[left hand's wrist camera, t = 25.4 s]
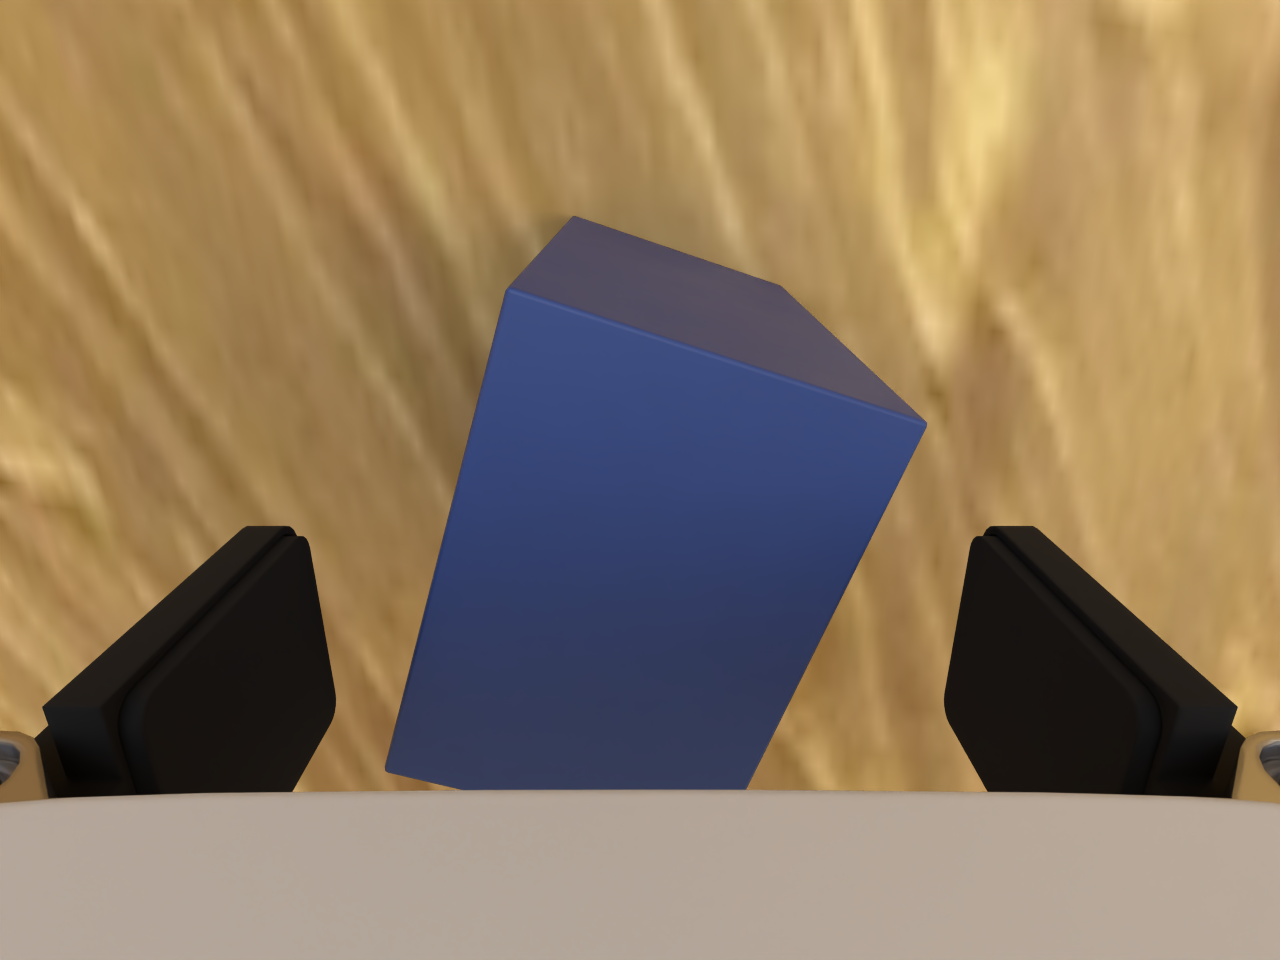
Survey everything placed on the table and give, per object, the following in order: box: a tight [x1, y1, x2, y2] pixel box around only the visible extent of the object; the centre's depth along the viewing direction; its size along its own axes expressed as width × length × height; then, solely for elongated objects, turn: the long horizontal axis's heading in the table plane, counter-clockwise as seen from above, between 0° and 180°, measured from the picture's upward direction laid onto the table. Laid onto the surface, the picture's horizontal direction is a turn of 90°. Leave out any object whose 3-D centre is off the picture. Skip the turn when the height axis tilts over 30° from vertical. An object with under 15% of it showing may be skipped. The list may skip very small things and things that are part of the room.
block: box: [385, 216, 927, 790], centre depth 15 cm, size 5×8×10 cm
